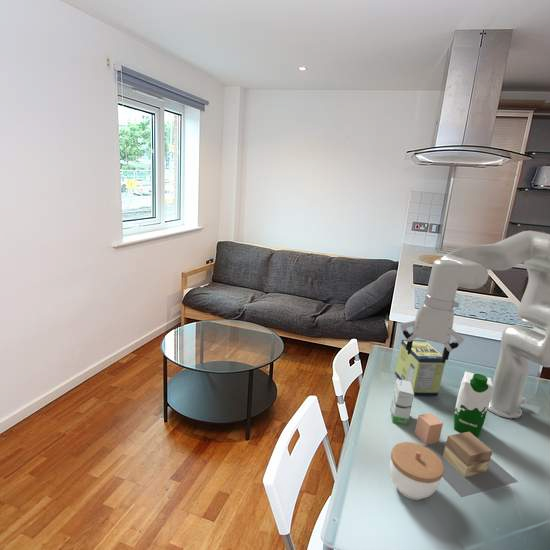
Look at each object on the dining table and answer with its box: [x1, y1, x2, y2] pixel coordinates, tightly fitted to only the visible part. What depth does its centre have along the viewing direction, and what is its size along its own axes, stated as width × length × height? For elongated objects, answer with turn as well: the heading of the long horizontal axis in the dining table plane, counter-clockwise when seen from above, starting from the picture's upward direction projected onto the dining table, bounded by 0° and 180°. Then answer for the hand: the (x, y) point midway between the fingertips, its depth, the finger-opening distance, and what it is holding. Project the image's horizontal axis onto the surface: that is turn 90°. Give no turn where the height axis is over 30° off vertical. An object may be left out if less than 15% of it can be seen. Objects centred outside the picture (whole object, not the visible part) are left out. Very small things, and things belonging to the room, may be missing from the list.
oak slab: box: [443, 446, 489, 477], centre depth 108 cm, size 8×8×4 cm
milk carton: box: [453, 371, 493, 438], centre depth 122 cm, size 9×9×20 cm
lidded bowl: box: [389, 441, 444, 501], centre depth 97 cm, size 13×13×11 cm
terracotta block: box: [414, 412, 444, 445], centre depth 117 cm, size 5×5×7 cm
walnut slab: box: [445, 432, 493, 467], centre depth 107 cm, size 8×8×4 cm
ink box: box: [389, 378, 415, 426], centre depth 126 cm, size 9×5×12 cm, turn 168°
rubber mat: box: [423, 440, 519, 498], centre depth 108 cm, size 20×18×1 cm
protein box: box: [394, 339, 447, 397], centre depth 147 cm, size 10×16×16 cm
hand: (425, 356), depth 113 cm, fingers open, 9 cm apart
